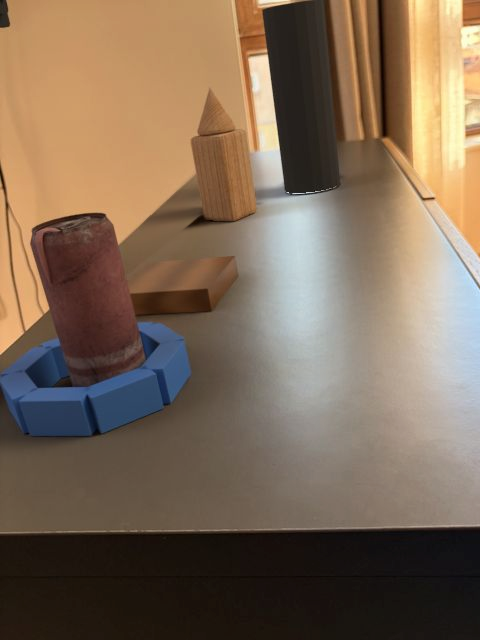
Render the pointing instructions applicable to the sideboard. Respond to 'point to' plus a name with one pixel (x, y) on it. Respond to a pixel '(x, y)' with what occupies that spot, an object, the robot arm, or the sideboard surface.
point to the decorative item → (222, 165)
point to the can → (88, 297)
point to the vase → (302, 95)
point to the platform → (181, 285)
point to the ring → (94, 388)
